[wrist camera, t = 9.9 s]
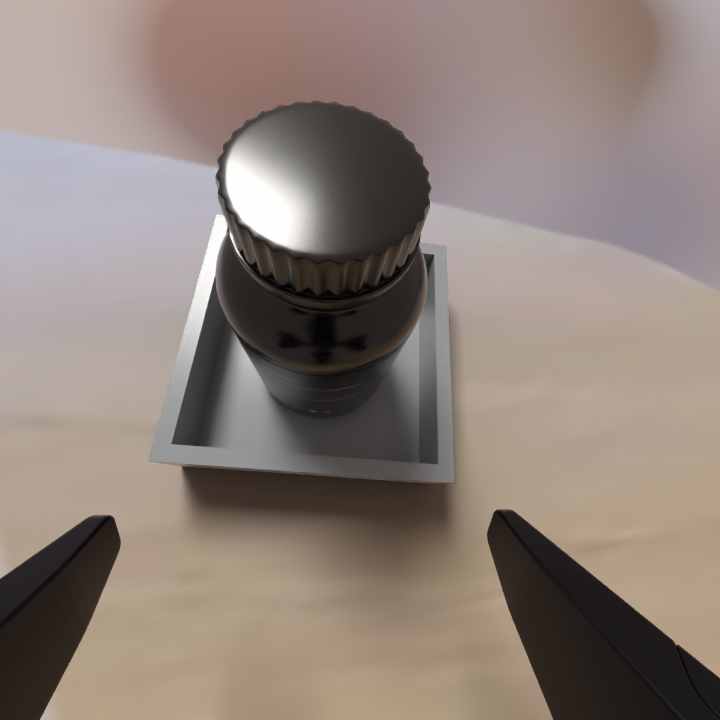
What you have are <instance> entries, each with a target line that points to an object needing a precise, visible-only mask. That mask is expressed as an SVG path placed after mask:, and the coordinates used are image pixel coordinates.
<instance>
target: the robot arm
mask: <svg viewBox="0 0 720 720" xmlns="http://www.w3.org/2000/svg"><path fill="white" fill-rule="evenodd" d="M487 539H488V544H489V547H490V550H491V553H492V557H493V560H494V563H495V567H496V570H497V573H498V576H499V580H500V583H501V586H502V590H503V593H504V596H505V599H506V602H507V605H508V608H509V611H510V613H511V616H512V619H513V621H514V624H515V626H516V629H517V631H518V634H519V636H520V639H521V641H522V643H523V646H524V648H525V651H526V653H527V656H528V658H529V661H530V663H531V666H532V668H533V671H534V673H535V676H536V678H537V680H538V683H539V685H540V688H541V690H542V693H543V695H544V698H545V700H546V703H547V705H548V708H549V710H550V713H551V715H552V718H553V720H720V678H719V677H718V676H717V675H715V674H714V673H713V672H712V671H710V670H709V669H708V668H707V667H705V666H704V665H703V664H702V663H700V662H699V661H698V660H697V659H695V658H694V657H693V656H692V655H690V654H689V653H688V652H687V651H686V650H684V649H683V648H682V647H681V646H679V645H675V642H674V641H673V640H672V639H671V638H669V637H668V636H667V635H666V634H664V633H663V632H662V631H661V630H660V629H658V628H657V627H656V626H655V625H653V624H652V623H651V622H650V621H648V620H647V619H646V618H645V617H644V616H642V615H641V614H640V613H639V612H637V611H636V610H635V609H634V608H633V607H631V606H630V605H629V604H628V603H626V602H625V601H624V600H623V599H621V598H620V597H619V596H618V595H617V594H615V593H614V592H613V591H612V590H610V589H609V588H608V587H607V586H605V585H604V584H603V583H602V582H601V581H599V580H598V579H597V578H596V577H594V576H593V575H592V574H591V573H589V572H588V571H587V570H586V569H585V568H583V567H582V566H581V565H580V564H578V563H577V562H576V561H575V560H574V559H572V558H571V557H570V556H569V555H567V554H566V553H565V552H564V551H562V550H561V549H560V548H559V547H558V546H556V545H555V544H554V543H553V542H551V541H550V540H549V539H548V538H546V537H545V536H544V535H543V534H542V533H540V532H539V531H538V530H537V529H535V528H534V527H533V526H532V525H530V524H529V523H528V522H527V521H526V520H524V519H523V518H522V517H521V516H519V515H518V514H517V513H516V512H514V511H513V510H509V509H502V510H496V511H495V512H494V514H493V517H492V520H491V523H490V526H489V529H488V532H487ZM120 545H121V540H120V536H119V533H118V529H117V526H116V522H115V519H114V517H112V516H111V515H94V516H90V517H88V518H87V519H85V520H84V521H82V522H81V523H79V524H78V525H76V526H75V527H74V528H72V529H71V530H69V531H68V532H66V533H65V534H64V535H62V536H61V537H59V538H58V539H56V540H55V541H54V542H52V543H51V544H49V545H48V546H46V547H45V548H44V549H42V550H41V551H39V552H38V553H36V554H35V555H33V556H32V557H31V558H29V559H28V560H26V561H25V562H23V563H22V564H21V565H19V566H18V567H16V568H15V569H13V570H12V571H11V572H9V573H8V574H6V575H5V576H3V577H2V578H1V579H0V720H40V718H41V717H42V715H43V713H44V711H45V709H46V707H47V705H48V703H49V701H50V699H51V697H52V695H53V693H54V692H55V690H56V688H57V686H58V684H59V682H60V680H61V678H62V676H63V674H64V672H65V670H66V668H67V667H68V665H69V663H70V661H71V659H72V657H73V655H74V653H75V651H76V649H77V647H78V645H79V643H80V641H81V639H82V637H83V635H84V633H85V631H86V629H87V627H88V625H89V622H90V620H91V618H92V616H93V613H94V611H95V608H96V606H97V604H98V601H99V599H100V596H101V594H102V591H103V589H104V587H105V584H106V582H107V579H108V577H109V574H110V572H111V570H112V567H113V565H114V562H115V560H116V558H117V555H118V553H119V550H120Z"/></svg>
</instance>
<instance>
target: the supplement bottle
mask: <svg viewBox="0 0 720 720" xmlns="http://www.w3.org/2000/svg"><path fill="white" fill-rule="evenodd" d="M217 162H218V168H219V170H218V172H217V174H216V184H217V187H218V199H219V203H220V206H221V208H222V211H223V214H224V217H225V219H226V222H227V228H228V231H227V233H226V235H225V237H224V239H223V241H222V244H221V246H220V250H219V253H218V257H217V263H216V274H215V277H216V288H217V294H218V298H219V301H220V304H221V307H222V309H223V312H224V314H225V316H226V318H227V320H228V322H229V324H230V326H231V328H232V329H233V331H234V333H235V335H236V336H237V338H238V340H239V342H240V343H241V345H242V347H243V348H244V350H245V352H246V354H247V355H248V357H249V359H250V360H251V362H252V364H253V366H254V367H255V369H256V371H257V373H258V374H259V376H260V378H261V379H262V381H263V383H264V384H265V386H266V387H267V389H268V390H269V392H270V393H271V394H272V395H273V396H274V398H275V399H276V400H278V401H279V402H280V403H281V404H282V405H284V406H285V407H287V408H288V409H290V410H292V411H294V412H296V413H298V414H301V415H304V416H309V417H316V418H329V417H336V416H340V415H344V414H346V413H349V412H351V411H353V410H355V409H356V408H358V407H360V406H361V405H362V404H364V403H365V402H366V401H367V400H368V399H369V398H370V397H371V396H372V395H373V394H374V392H375V391H376V390H377V388H378V387H379V385H380V384H381V382H382V381H383V379H384V377H385V376H386V374H387V372H388V371H389V369H390V367H391V366H392V364H393V362H394V361H395V359H396V358H397V356H398V354H399V353H400V351H401V349H402V348H403V346H404V344H405V343H406V341H407V339H408V338H409V336H410V334H411V333H412V331H413V329H414V328H415V326H416V324H417V322H418V320H419V317H420V315H421V313H422V310H423V307H424V304H425V300H426V294H427V281H428V279H427V269H426V263H425V259H424V256H423V252H422V249H421V247H420V245H419V243H420V235H421V231H422V228H423V225H424V222H425V220H426V217H427V214H428V212H429V208H430V200H429V197H430V194H431V186H430V184H429V182H428V175H429V172H428V171H427V169H426V168H425V166H424V165H423V157H422V156H421V155H420V154H419V153H418V152H416V150H415V146H414V144H413V143H412V142H410V141H409V140H408V139H406V138H405V136H404V134H403V133H402V132H401V131H400V130H398V129H396V128H394V127H392V125H391V124H390V123H389V122H388V121H386V120H383V119H380V118H378V117H376V116H375V115H374V114H373V113H371V112H366V111H361V110H360V109H358V108H356V107H354V106H344V105H341V104H339V103H336V102H331V103H324V102H320V101H312V102H308V103H306V102H295V103H293V104H290V105H279V106H277V107H275V108H274V109H272V110H268V111H262V112H261V113H260V114H259V115H258V116H257V117H255V118H252V119H249V120H247V121H246V122H245V123H244V125H243V126H242V127H241V128H239V129H237V130H235V131H234V132H233V133H232V136H231V139H230V140H228V141H227V142H226V143H225V144H224V146H223V153H222V155H221V156H220V157H219V158H218V160H217Z"/></svg>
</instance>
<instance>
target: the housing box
mask: <svg viewBox="0 0 720 720" xmlns="http://www.w3.org/2000/svg"><path fill="white" fill-rule="evenodd" d="M227 231H228V228H227V222H226V219H225V217H224V215H216V219H215V222H214V226H213V229H212V233H211V237H210V240H209V244H208V247H207V251H206V254H205V258H204V262H203V265H202V269H201V272H200V276H199V280H198V283H197V287H196V290H195V294H194V297H193V301H192V305H191V308H190V312H189V315H188V319H187V322H186V326H185V330H184V333H183V337H182V340H181V344H180V348H179V351H178V355H177V358H176V362H175V365H174V369H173V373H172V376H171V380H170V383H169V387H168V391H167V394H166V398H165V401H164V405H163V408H162V412H161V416H160V419H159V423H158V426H157V430H156V433H155V437H154V441H153V444H152V448H151V451H150V455H149V459H148V461H151V462H157V463H164V464H170V465H177V466H185V467H200V468H214V469H228V470H242V471H256V472H270V473H284V474H298V475H313V476H327V477H341V478H355V479H369V480H383V481H397V482H411V483H426V484H437V483H455V476H454V448H453V421H452V393H451V365H450V338H449V310H448V282H447V254H446V246H442V245H435V244H428V243H419V245H420V247H421V249H422V252H423V256H424V259H425V263H426V269H427V279H428V281H427V294H426V300H425V304H424V307H423V310H422V313H421V315H420V317H419V320H418V322H417V324H416V326H415V328H414V329H413V331H412V333H411V334H410V336H409V338H408V339H407V341H406V343H405V344H404V346H403V348H402V349H401V351H400V353H399V354H398V356H397V358H396V359H395V361H394V362H393V364H392V366H391V367H390V369H389V371H388V372H387V374H386V376H385V377H384V379H383V381H382V382H381V384H380V385H379V387H378V388H377V390H376V391H375V392H374V394H373V395H372V396H371V397H370V398H369V399H368V400H367V401H366V402H365V403H364V404H362V405H361V406H360V407H358V408H356V409H355V410H353V411H351V412H349V413H346V414H344V415H340V416H336V417H329V418H316V417H309V416H304V415H301V414H298V413H296V412H294V411H292V410H290V409H288V408H287V407H285V406H284V405H282V404H281V403H280V402H279V401H278V400H276V399H275V398H274V396H273V395H272V394H271V393H270V392H269V390H268V389H267V387H266V386H265V384H264V383H263V381H262V379H261V378H260V376H259V374H258V373H257V371H256V369H255V367H254V366H253V364H252V362H251V360H250V359H249V357H248V355H247V354H246V352H245V350H244V348H243V347H242V345H241V343H240V342H239V340H238V338H237V336H236V335H235V333H234V331H233V329H232V328H231V326H230V324H229V322H228V320H227V318H226V316H225V314H224V312H223V309H222V307H221V304H220V301H219V298H218V294H217V288H216V277H215V274H216V263H217V257H218V253H219V250H220V246H221V244H222V241H223V239H224V237H225V235H226V233H227Z"/></svg>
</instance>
